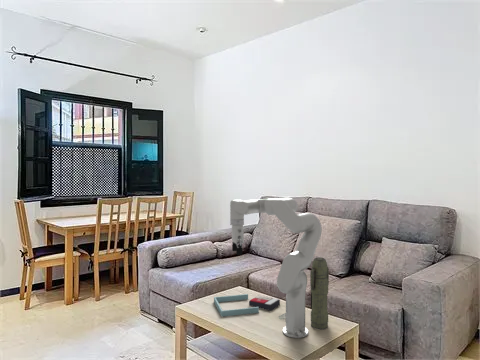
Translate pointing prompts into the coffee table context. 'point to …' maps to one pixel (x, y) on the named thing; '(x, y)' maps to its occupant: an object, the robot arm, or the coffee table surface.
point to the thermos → (319, 293)
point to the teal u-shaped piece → (234, 311)
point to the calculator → (264, 302)
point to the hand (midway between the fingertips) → (237, 252)
